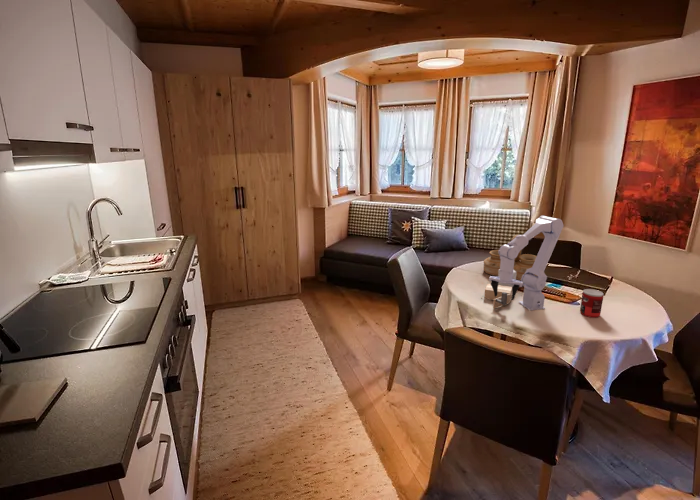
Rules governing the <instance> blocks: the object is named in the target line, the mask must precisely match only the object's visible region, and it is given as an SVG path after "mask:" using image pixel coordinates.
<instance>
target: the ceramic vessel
mask: <svg viewBox="0 0 700 500" xmlns="http://www.w3.org/2000/svg"><path fill="white" fill-rule="evenodd" d="M517 235H518V234H515V235H514V236H512V237H511V241H512V240H513V239H514V238H516V236H517ZM498 251H499V249H494V250H490V251H489V255H490V256H488V257H487V258H485V259H484V260H483V272H484V273H486V274H488V275H490V276H491V275H492V276H495V277H498V270H499V269H500V263H501V259H500V255H499V253H498ZM536 257H537V255H534V254H531V253H530V254H529V253H527V254H526V253H525V254H524V253H523V254H522V249H521V250H520V252H519V253H518V255H517V257H516V258H514V270H515V271H516V280H518V281H521V278H522V276H523V275H524V274H525V272H526V270H527V269H529V268H532V266H533V264H534V262H535V259H536ZM533 275H535V274H533ZM535 276H537V275H535Z"/></svg>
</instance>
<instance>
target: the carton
mask: <svg viewBox="0 0 700 500" xmlns="http://www.w3.org/2000/svg"><path fill="white" fill-rule="evenodd" d="M502 292H506V293H507V294H511V297H512V287H508V286H502V285H498V293H497V296H496V297H495V296H494V291H493V288H492V286H491V283H487V284H486V287H485V289H484V298H483V299H485V298H486V300H491V301H492V300H493V301H494V299H496V298H499V297H502Z"/></svg>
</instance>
